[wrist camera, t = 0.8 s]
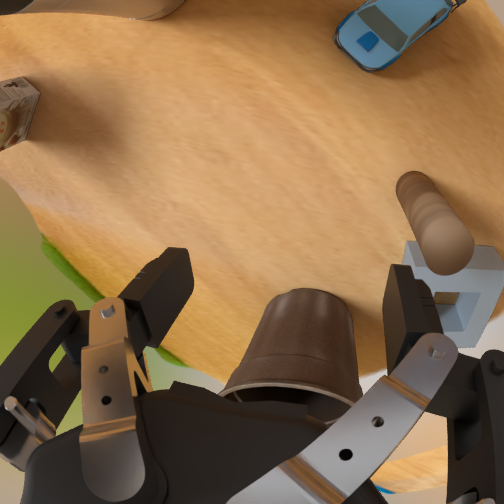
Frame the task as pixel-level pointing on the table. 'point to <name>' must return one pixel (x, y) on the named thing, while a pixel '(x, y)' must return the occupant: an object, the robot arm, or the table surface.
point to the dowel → (434, 225)
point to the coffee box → (16, 110)
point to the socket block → (463, 291)
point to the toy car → (388, 29)
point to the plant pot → (301, 356)
